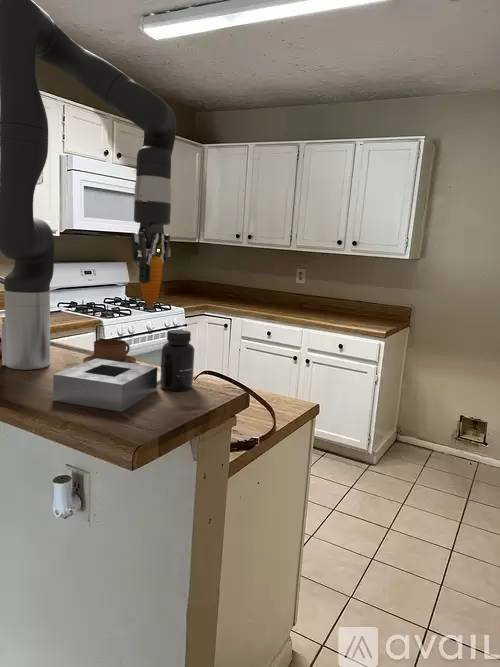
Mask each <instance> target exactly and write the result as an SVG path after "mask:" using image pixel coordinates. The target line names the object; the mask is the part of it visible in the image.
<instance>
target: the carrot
mask: <svg viewBox="0 0 500 667" xmlns="http://www.w3.org/2000/svg"><path fill="white" fill-rule="evenodd" d="M161 247H163V245H162V244H160V245H158V246H157V248H156V249H155V253H154V255H152V257H151V262H150V282H149V283H140V289H141V293H142V294H141V295H142V297H143V301H144V303H145V305H146V307H147V308H148V309H152V308H153V307H154V304H156V301H157V299H158V296H159V293H160V290H161V284H162V278H163V277H162V276H163V265H164V263H163V262H162V259H161V258H159V257H157V256H155V255H156V253H157V251H158V250H159V249H160V248H161ZM146 257H147V255H146Z"/></svg>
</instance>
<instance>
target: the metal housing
mask: <svg viewBox="0 0 500 667" xmlns="http://www.w3.org/2000/svg"><path fill="white" fill-rule="evenodd" d="M157 371H158V366H153V365H145V364H138V363H135V364H133V363H126V362H118V361H111V360H104V359H97V358H96V359H93V360H91V361H88V362H85V363H84V362H83V363H79V364H78V365H75V366H72V367H69V368H67V369H64V370H61V371H59V372H56V373H54V374H53V375H52V376H53V378H52V380H53V384H52V385H53V386H52V388H53V392H52V393H53V396H52V397H53V399H52V400H53V401H54V402H55V401H56V402H59V403H60V402H61V403H66V404H72V405H78V406H83V407H85V406H86V407H91V408H97V409H102V410H109V411H113V412H121V413H123V412H124V411H126V410H127V409H129V408H131V407H133V406H134V405H136V404H137V403H139V402H140V401H142V400H144V399H146V398H147V397H149V396H150V395H152V394H153V393H155V392H157V388H158V384H157Z"/></svg>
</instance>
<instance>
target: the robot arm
mask: <svg viewBox="0 0 500 667" xmlns="http://www.w3.org/2000/svg"><path fill="white" fill-rule="evenodd" d="M36 59H38V60H39V61H42V62H45V63H46V64H48V65H50V66H52V67H54V68H56V69H58V70H60V71H61V72H63V73H64V74H66V75H68V76H69V77H71V78H72V79H73V80H74V81H75V82H77V83H78V84H79V85H80V86H81V87H83V88H84V89H85V90H86V91H87V92H88V93H90V94H92V96H94V97H96V98H97V99H98V100H99V101H101V102H102V103H104V104H105V105H107V106H108V107H109V108H111V109H113V110H115V111H117V112H118V113H120V114H121V115H123V116H125V118H126V119H128V120H129V121H130V122H132V123H133V124H135V125H136V127H138V128H139V129H141V130H142V131H143V132H144V133H143V143H142V147H141V148H139V149H138V151H137V154H136V172H135V176H136V177H135V183H134V196H133V198H134V202H133V206H134V207H133V209H134V210H133V221H134V222H135V223H137V224H139V228H138V231H135V232H134V231H132V232H131V234H130V239H131V250H132V259H133V261H134V262H136V263H137V265H139V266H138V267H139V268H138V281H139V283H140V284H141V283H149V282H150V262H151V257H152V255H154V253H155V249H156V248H157V246H158V245H160V244H162V245H163V247H161V248H160V249H159V250H158V251H157V253H156V255H155V256H157V257H159V258H161V259H162V262H163V264H164V263H165V262H167V260H168V255H169V248H170V240H171V235H170V234H165V231H164V230H165V229H164V226H169V225H170V224H171V210H172V208H171V206H172V184H171V183H172V182H171V181H172V180H171V178H172V177H171V175H172V155H173V150H174V146H175V140H176V135H177V134H176V133H177V119H176V114H175V112H174V110H173V108H172V107H171V106H170V105H169V104H168V103H166V101H165V100H164V99H162V97H161V96H158V95H157V94H156V93H154V92H153V91H152V90H150V89H148V88H147V87H145V86H143V85H141V84H140V83H137V82H136V81H134V79H132V77H130V76H129V75H127V74H126V73H124V72H123V71H121V70H120V69H118V67H116V66H114V65H113V64H111V63H110V62H108V61H107V60H105V59H104V58H102V57H100V56H98V55H97V54H94V52H93V53H92V52H91V51H89V50H86V49H85V48H84V47H82V46H81V45H79V44H78V43H77V42H76V41H74V40H73V39H72V38H71V37H70V36H68V35H67V34H66V32H64V30H62V28H60V26H59V25H57V23H56V22H55V21H54V20H53V19H52V18H51V16H50V15H49V14H48V12H46V10H44V9H43V8H42V7H41V6H39V5H38V4H37V3H36V2H35V1H34V0H0V253H1V254H2V255H3V256H4V257H6V258H8V259H10V260H14V266H13V268H12V270H11V272H9V273H8V275H6V276H5V277H4V280H3V289H4V295H3V296H4V322H3V323H2V324H0V325H1V327H0V328H1V329H0V332H1V361H2V362H1V364H2V366H5V367H7V368H8V369H11V370H12V369H13V370H20V371H21V370H25V371H26V370H29V371H30V370H38V369H44V368H46V367H49V366H50V365H51V318H50V317H51V307H50V305H51V304H50V303H51V301H50V299H51V298H50V297H51V296H50V295H51V294H50V286H51V282H52V279H53V276H54V270H55V269H54V268H55V267H54V266H55V265H54V264H55V238H54V233H53V231H52V228H51V226H50V225H49V224H48V223H47V222H46V221H44V220H43V219H41V218H37V217H34V196H35V190H36V186H37V185H38V181H39V180H40V177H41V175H42V173H43V171H44V168H45V165H46V163H47V159H48V154H49V122H48V115H47V111H46V108H45V104H44V100H43V98H42V94H41V92H40V88H39V84H38V81H37V74H36ZM146 256H147V257H146Z"/></svg>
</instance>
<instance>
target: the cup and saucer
mask: <svg viewBox="0 0 500 667" xmlns="http://www.w3.org/2000/svg"><path fill="white" fill-rule="evenodd" d="M129 352H130V344H129V343H127V341H126V340H124V339H123V340H122V339H115V338H104V339H103V338H102V339H98V340H97V339H96V340H94V342H93V355H88V356H86V357H84V358H83V359H82V361H83V363H85V362H88V361H91V360H93V359H96V358H97V359H104V360H111V361H118V362H126V363H133V364H137V363H136V362H137V359H136V357H133V356H131V355H128V354H129Z"/></svg>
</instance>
